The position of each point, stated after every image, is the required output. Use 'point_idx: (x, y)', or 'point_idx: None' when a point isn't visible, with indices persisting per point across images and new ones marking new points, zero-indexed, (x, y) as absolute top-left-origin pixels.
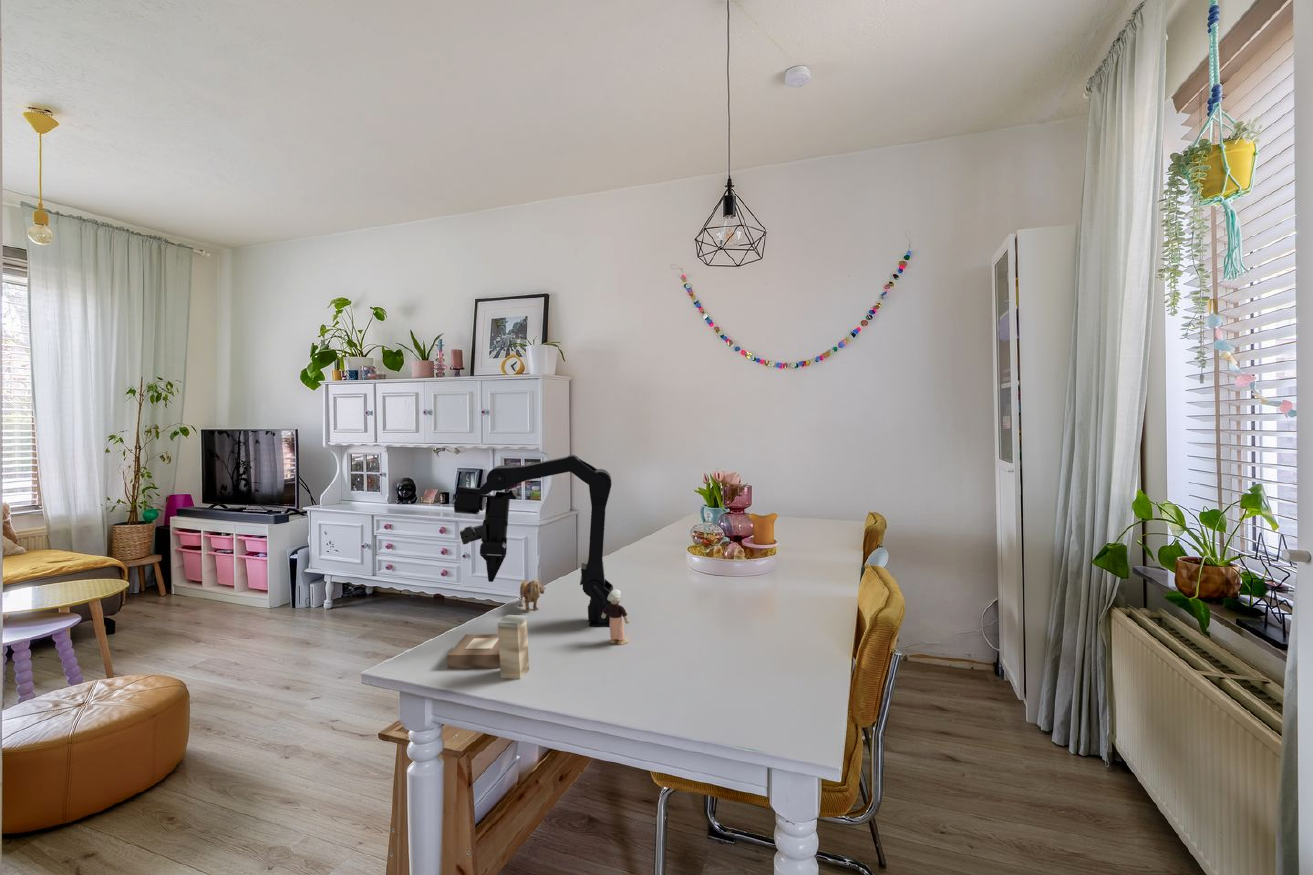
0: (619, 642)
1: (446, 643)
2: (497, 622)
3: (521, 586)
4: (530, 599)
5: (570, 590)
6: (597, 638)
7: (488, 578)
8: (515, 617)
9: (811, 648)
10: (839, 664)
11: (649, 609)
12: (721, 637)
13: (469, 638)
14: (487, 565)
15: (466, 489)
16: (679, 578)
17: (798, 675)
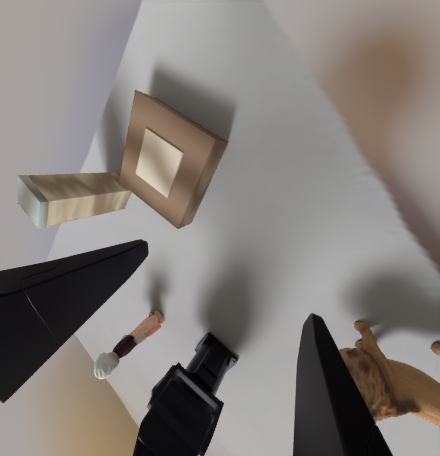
0: (149, 314)
1: (272, 95)
2: (18, 175)
3: None
4: (340, 351)
5: None
6: (172, 311)
7: (127, 243)
8: (32, 210)
9: (111, 375)
10: (94, 361)
11: (227, 410)
12: (138, 368)
13: (191, 145)
14: (36, 267)
15: None
16: None
17: (87, 338)
